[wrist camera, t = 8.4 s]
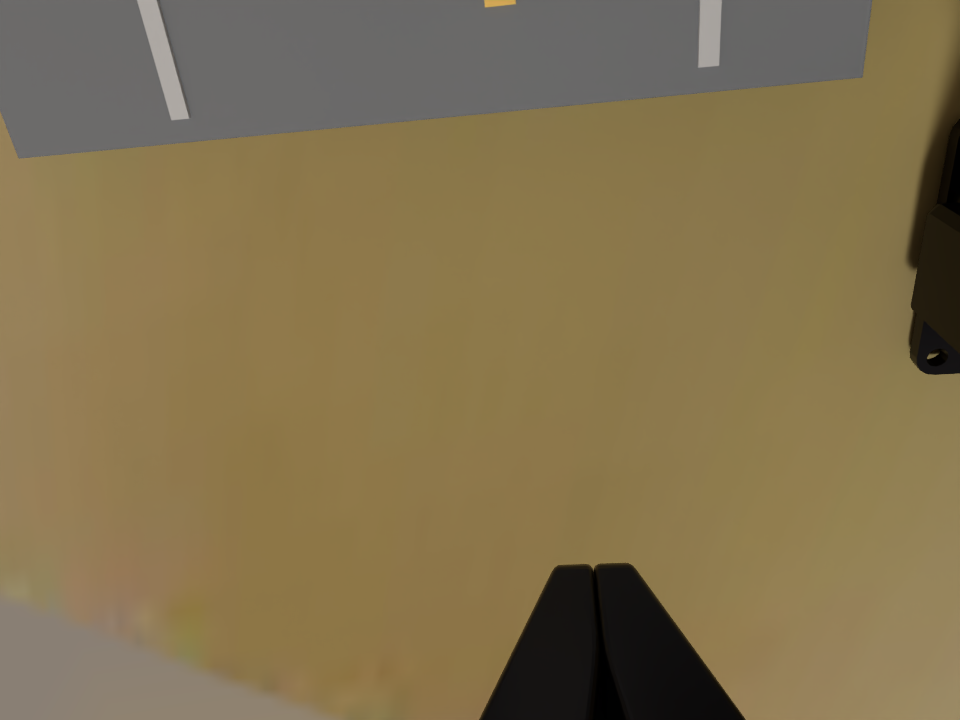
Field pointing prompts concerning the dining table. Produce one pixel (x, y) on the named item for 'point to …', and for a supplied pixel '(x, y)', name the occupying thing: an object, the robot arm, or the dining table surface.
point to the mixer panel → (384, 61)
